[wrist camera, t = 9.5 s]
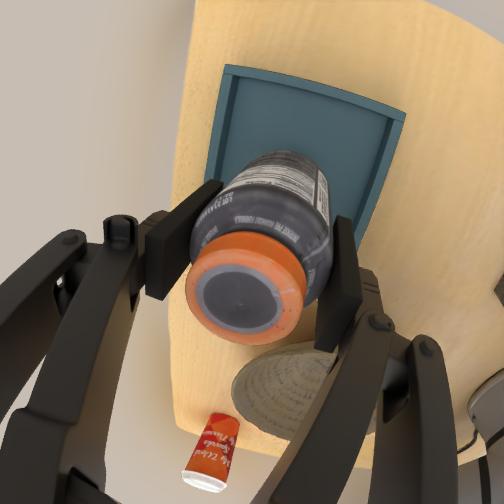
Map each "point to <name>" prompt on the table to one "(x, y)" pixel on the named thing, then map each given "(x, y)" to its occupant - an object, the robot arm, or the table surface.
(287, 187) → the pill bottle
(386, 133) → the tray
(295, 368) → the bowl
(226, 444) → the paper cup
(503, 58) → the table surface
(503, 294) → the block
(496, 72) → the table surface
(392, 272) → the table surface
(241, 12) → the table surface
